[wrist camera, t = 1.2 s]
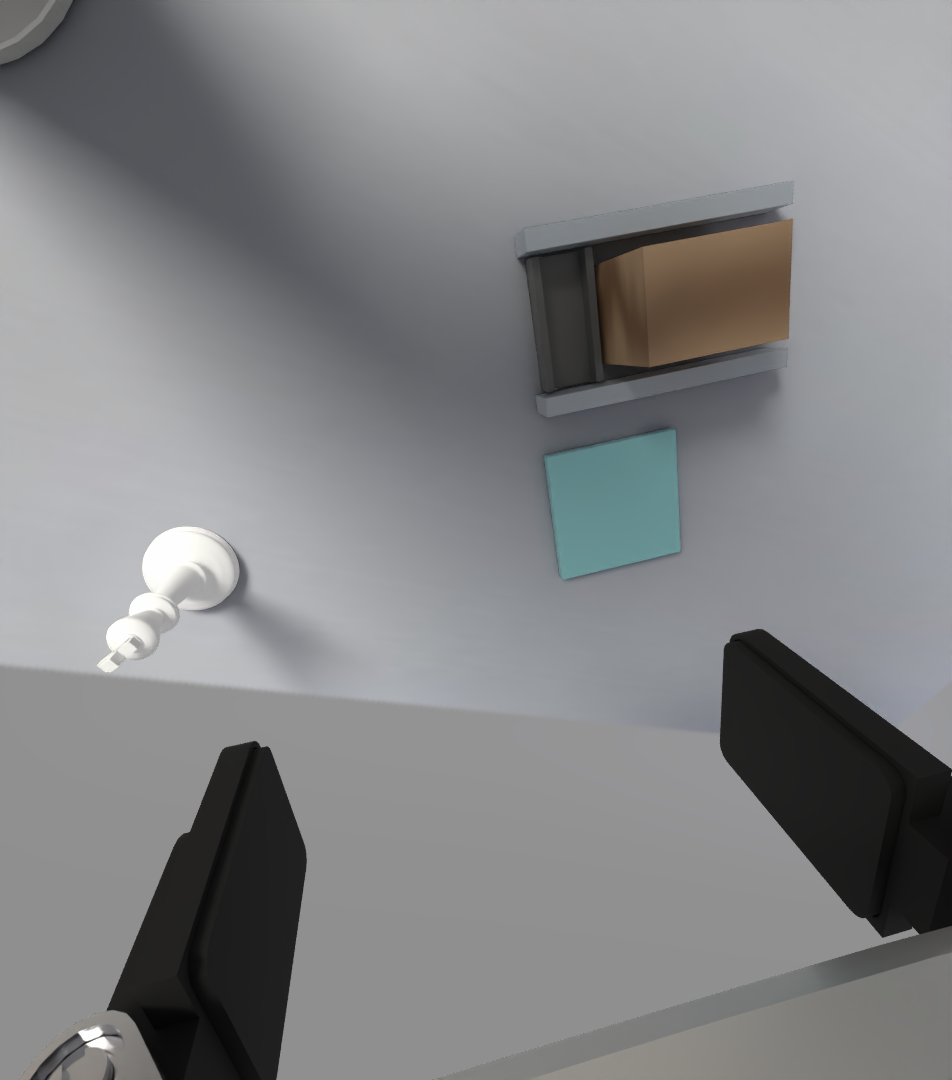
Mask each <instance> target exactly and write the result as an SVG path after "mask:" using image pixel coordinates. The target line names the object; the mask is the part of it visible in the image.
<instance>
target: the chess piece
mask: <svg viewBox="0 0 952 1080" xmlns="http://www.w3.org/2000/svg"><path fill="white" fill-rule="evenodd" d="M142 570H143V576H144V579H145V582H146V584H147V586H148V587H149V589H150V590H151V591H152V592H153V593H145V594H142V595H140V596H138V597H137V598H135V599H134V600H133V602H132V603H131V606H130V610H129V616H127V617H125V618H122V619H120V620H118V621H116V622H115V623H113V624H112V625H111V626H110V628H109V629H108V631H107V636H106V639H107V643H108V646H109V647H110V649H111V650H112V651H113V652H112V653H110V654H109V655H108V656H106V657H105V658H104V659H102V660H101V661H100V663H99V664H98V665H97V666H98V667H99V668H101V669H102V670H103V671H104V672H107V671H109V672H112V671H113V670H114V669H116V668H117V667H119V665H120V664H121V663H122V662H123V660H124V659H130V660H139V659H144V658H146V657H148V656H150V655H151V654H153V653H154V652H155V650H156V649H157V647H158V645H159V640H160V634H162V633H165V632H167V631H169V630H171V629H173V628H174V627H175V626H176V625H177V623H178V621H179V617H180V613H179V609H183V610H203V609H207V608H210V607H213V606H215V605H217V604H219V603H220V602H222V601H223V600H224V599H225V598H226V597H228V596H229V595H230V594H231V592H232V591H233V590H234V588H235V587H236V585H237V582H238V579H239V563H238V559H237V557H236V554H235V553H234V551H233V549H232V548H231V547H230V545H229V544H228V543H227V542H226V541H225V540H224V539H222V538H221V537H220V536H218V535H216V534H215V533H213V532H210V531H208V530H205V529H202V528H197V527H178V528H174V529H171V530H168V531H166V532H164V533H162V534H161V535H159V536H158V537H157V538H156V539H155V540H154V541H153V542H152V543H151V545H150V546H149V548H148V549H147V551H146V553H145V555H144V558H143V564H142ZM178 608H179V609H178Z"/></svg>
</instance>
